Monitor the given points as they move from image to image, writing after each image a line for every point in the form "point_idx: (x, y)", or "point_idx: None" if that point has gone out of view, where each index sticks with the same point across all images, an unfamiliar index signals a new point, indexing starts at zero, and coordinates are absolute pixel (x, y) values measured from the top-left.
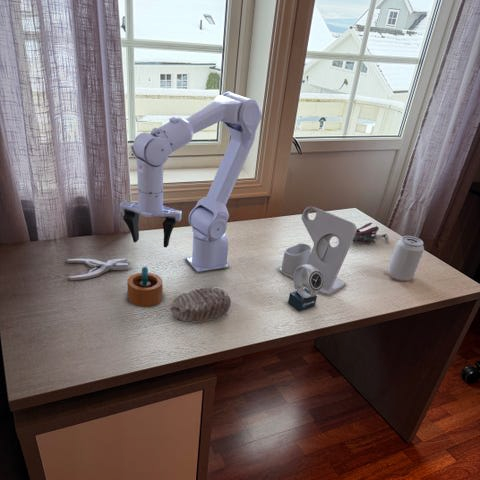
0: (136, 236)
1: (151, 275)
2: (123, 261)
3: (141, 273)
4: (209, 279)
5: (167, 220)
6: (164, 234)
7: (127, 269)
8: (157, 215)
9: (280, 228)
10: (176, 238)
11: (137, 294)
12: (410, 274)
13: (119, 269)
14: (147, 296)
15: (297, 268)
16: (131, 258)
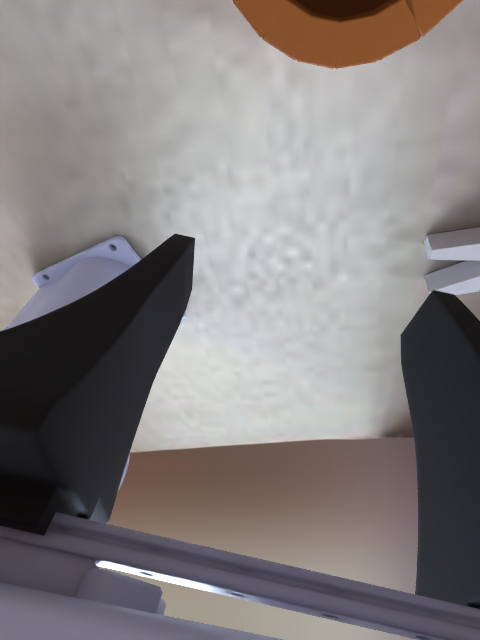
0: (435, 337)
1: (304, 19)
2: (445, 280)
3: (384, 40)
4: (57, 186)
5: (25, 480)
6: (133, 306)
7: (429, 234)
8: (95, 629)
9: None
10: (242, 409)
11: None
12: None
13: (472, 229)
14: None
15: None
16: (397, 315)
